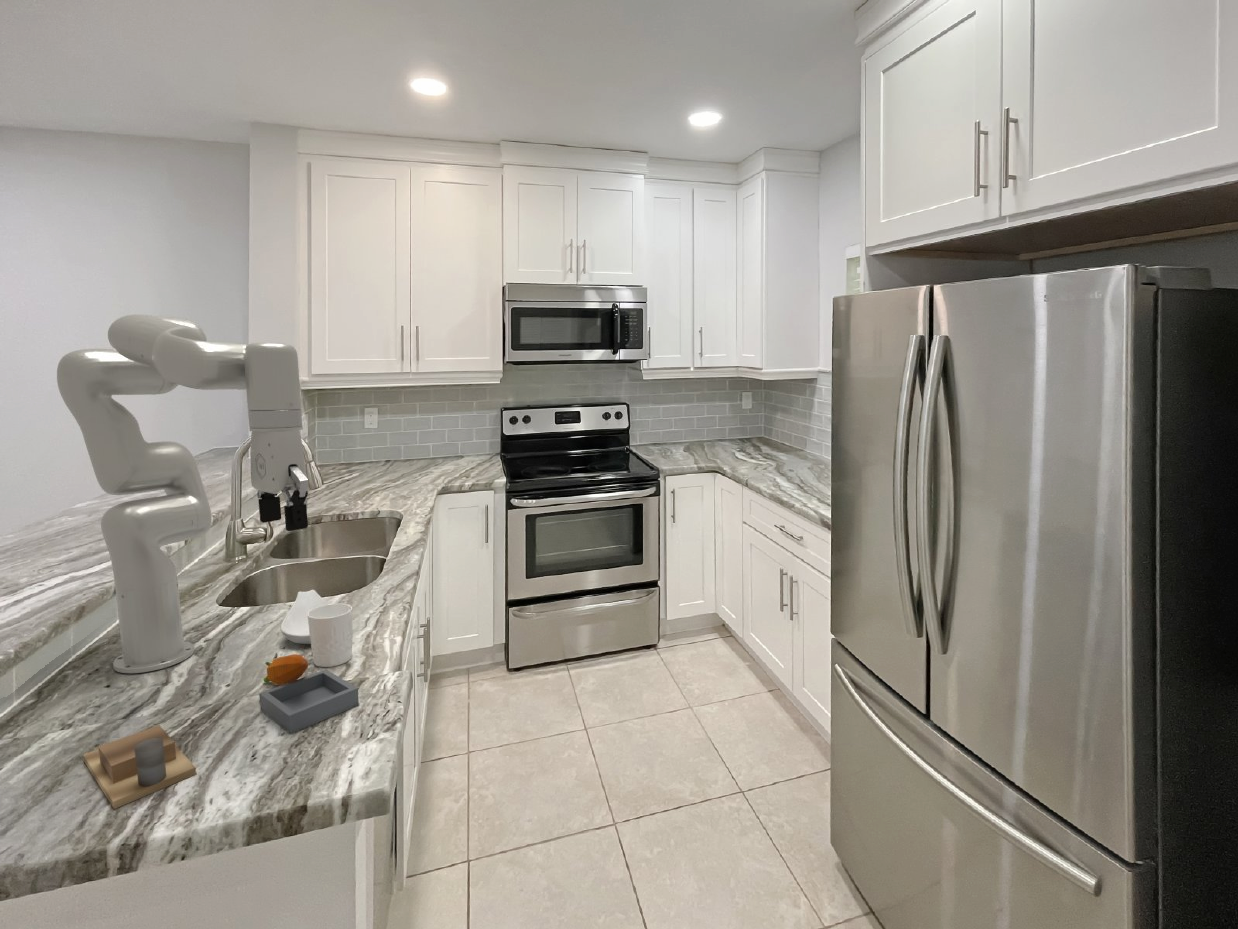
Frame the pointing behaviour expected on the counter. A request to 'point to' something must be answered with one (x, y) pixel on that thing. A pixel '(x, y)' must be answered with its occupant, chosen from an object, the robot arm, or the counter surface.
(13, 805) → the counter surface
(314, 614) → the white cup
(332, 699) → the tray
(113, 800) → the board
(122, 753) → the wooden rectangular block
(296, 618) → the spoon rest
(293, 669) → the carrot
